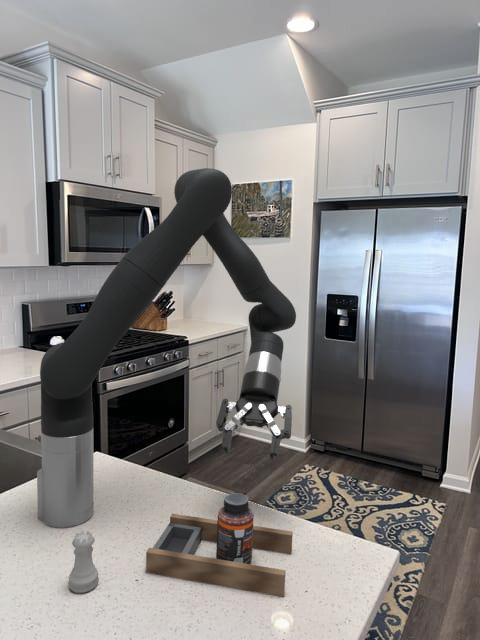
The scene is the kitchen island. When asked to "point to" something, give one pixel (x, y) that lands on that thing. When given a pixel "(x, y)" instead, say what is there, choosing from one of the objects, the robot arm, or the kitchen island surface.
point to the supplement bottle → (235, 529)
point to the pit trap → (179, 539)
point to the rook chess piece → (83, 564)
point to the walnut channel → (220, 569)
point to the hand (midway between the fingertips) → (249, 454)
